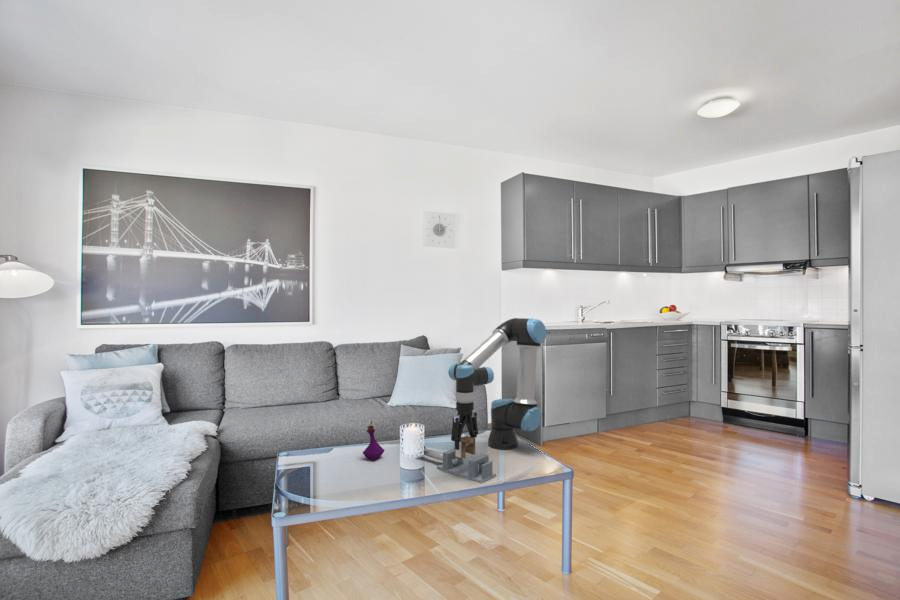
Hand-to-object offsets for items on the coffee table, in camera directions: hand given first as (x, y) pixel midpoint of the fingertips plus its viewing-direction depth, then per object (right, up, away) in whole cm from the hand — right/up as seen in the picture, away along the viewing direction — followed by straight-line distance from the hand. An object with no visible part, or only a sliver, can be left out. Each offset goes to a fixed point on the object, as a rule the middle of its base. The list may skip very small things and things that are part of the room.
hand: (464, 454), depth 202 cm
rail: (0, -8, 0) cm, 8 cm away
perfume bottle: (-42, -8, +18) cm, 47 cm away
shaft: (-12, -7, +11) cm, 18 cm away
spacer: (0, 0, 0) cm, 0 cm away
